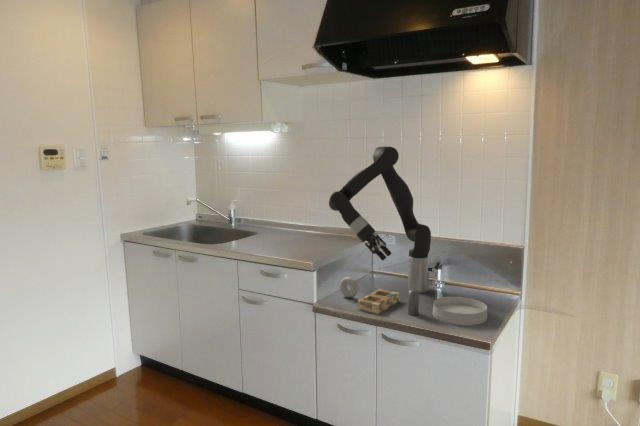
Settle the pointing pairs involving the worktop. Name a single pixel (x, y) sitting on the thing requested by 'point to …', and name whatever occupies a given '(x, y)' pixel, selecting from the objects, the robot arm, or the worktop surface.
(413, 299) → the plug
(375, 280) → the worktop surface
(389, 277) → the worktop surface
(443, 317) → the dish
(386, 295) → the socket board
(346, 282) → the donut
